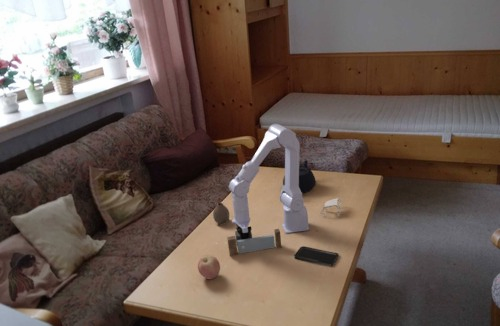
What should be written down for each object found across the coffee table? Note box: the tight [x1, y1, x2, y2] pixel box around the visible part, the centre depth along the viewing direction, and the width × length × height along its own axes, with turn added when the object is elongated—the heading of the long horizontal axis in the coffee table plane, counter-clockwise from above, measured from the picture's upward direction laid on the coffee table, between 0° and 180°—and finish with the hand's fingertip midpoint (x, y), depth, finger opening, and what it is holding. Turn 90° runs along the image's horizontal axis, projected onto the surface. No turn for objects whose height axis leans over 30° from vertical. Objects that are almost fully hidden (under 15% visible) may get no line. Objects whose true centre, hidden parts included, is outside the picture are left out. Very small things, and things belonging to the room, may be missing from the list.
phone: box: [293, 245, 340, 268], centre depth 167 cm, size 8×1×15 cm
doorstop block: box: [234, 230, 253, 248], centre depth 179 cm, size 6×4×5 cm, turn 99°
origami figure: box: [320, 197, 343, 218], centre depth 196 cm, size 12×8×5 cm
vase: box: [212, 202, 230, 225], centre depth 196 cm, size 7×7×9 cm
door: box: [236, 234, 276, 254], centre depth 174 cm, size 14×2×5 cm, turn 99°
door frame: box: [226, 228, 282, 257], centre depth 174 cm, size 20×2×7 cm, turn 99°
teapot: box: [282, 159, 316, 195], centre depth 220 cm, size 25×16×12 cm, turn 157°
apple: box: [197, 254, 221, 280], centre depth 161 cm, size 8×8×8 cm
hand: (244, 239), depth 180 cm, fingers closed on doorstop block, 4 cm apart
